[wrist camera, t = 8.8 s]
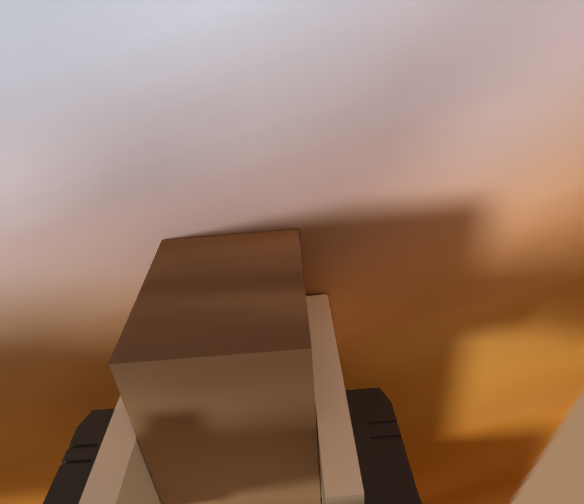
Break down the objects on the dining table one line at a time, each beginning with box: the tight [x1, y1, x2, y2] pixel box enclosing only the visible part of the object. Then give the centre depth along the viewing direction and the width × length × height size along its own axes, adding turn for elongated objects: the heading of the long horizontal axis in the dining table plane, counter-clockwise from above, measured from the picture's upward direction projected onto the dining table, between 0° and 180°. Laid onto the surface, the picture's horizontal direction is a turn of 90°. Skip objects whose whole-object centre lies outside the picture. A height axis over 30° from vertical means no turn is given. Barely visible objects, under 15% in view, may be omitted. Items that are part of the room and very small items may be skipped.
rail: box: [108, 229, 321, 504], centre depth 14 cm, size 14×4×5 cm, turn 4°
